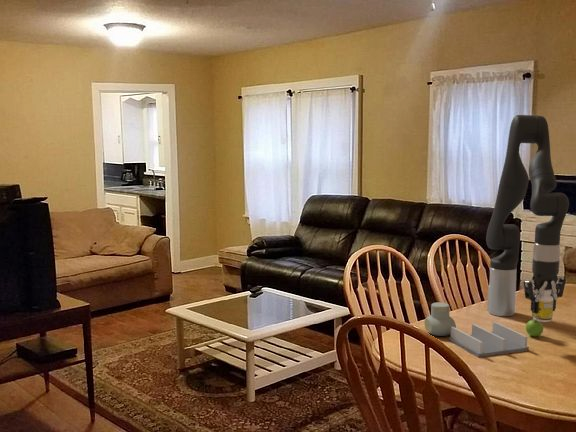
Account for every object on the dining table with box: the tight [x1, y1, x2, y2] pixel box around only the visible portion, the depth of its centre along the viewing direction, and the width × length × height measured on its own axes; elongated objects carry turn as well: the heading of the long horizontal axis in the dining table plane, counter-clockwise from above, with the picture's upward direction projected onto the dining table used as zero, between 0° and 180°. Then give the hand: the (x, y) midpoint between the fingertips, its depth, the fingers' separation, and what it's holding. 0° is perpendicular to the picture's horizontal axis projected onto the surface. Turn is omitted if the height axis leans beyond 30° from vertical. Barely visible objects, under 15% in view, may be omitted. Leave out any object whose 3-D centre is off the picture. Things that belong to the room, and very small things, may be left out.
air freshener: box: [423, 301, 457, 337], centre depth 202 cm, size 11×8×10 cm
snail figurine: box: [525, 311, 544, 337], centre depth 199 cm, size 5×6×12 cm
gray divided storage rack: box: [448, 321, 530, 358], centre depth 190 cm, size 16×18×4 cm
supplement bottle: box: [532, 289, 554, 323], centre depth 186 cm, size 5×5×10 cm
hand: (542, 311), depth 186 cm, fingers closed on supplement bottle, 5 cm apart
